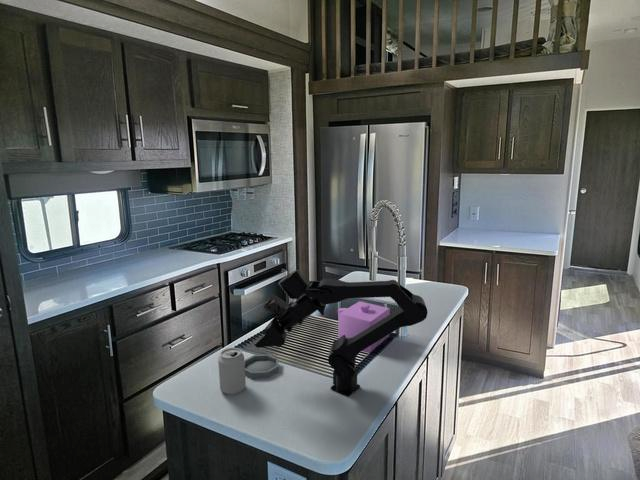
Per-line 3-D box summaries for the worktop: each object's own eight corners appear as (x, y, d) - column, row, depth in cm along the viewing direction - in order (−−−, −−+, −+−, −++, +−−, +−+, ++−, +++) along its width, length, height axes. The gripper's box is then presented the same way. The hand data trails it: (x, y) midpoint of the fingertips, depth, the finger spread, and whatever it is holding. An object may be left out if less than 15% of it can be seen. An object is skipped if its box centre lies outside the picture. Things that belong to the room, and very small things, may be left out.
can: (240, 397, 121) (238, 359, 119) (215, 394, 123) (213, 357, 120) (249, 383, 129) (247, 347, 126) (226, 380, 130) (224, 345, 127)
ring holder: (286, 367, 138) (285, 361, 137) (259, 382, 129) (259, 376, 128) (261, 356, 145) (261, 351, 144) (235, 370, 136) (234, 364, 136)
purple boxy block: (388, 359, 143) (389, 320, 140) (327, 340, 157) (326, 304, 154) (407, 342, 155) (408, 306, 152) (348, 326, 169) (348, 293, 166)
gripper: (288, 278, 130) (250, 306, 133) (276, 300, 112) (232, 332, 115) (311, 306, 131) (273, 333, 134) (302, 332, 113) (258, 362, 116)
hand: (259, 339), depth 125 cm, fingers open, 9 cm apart
